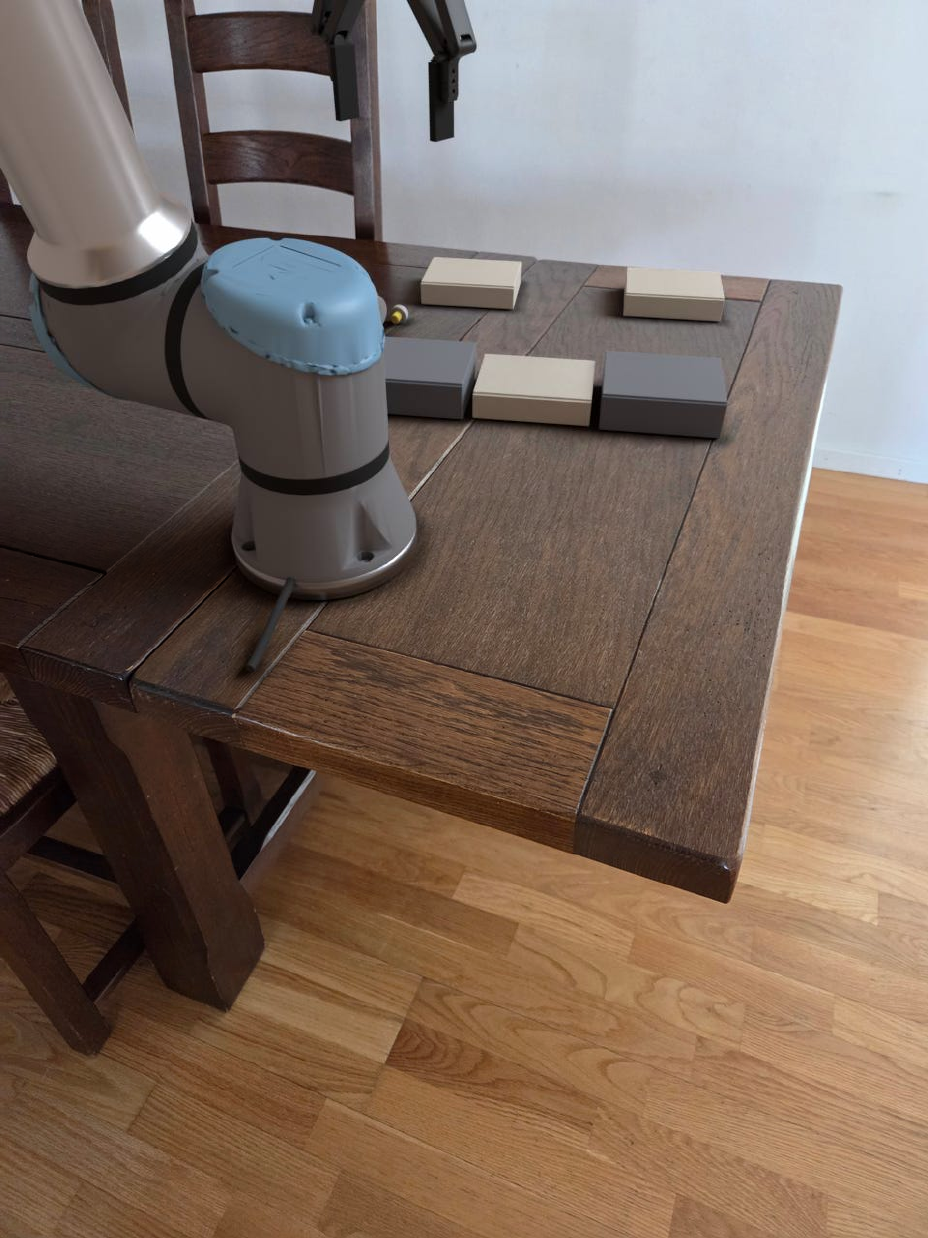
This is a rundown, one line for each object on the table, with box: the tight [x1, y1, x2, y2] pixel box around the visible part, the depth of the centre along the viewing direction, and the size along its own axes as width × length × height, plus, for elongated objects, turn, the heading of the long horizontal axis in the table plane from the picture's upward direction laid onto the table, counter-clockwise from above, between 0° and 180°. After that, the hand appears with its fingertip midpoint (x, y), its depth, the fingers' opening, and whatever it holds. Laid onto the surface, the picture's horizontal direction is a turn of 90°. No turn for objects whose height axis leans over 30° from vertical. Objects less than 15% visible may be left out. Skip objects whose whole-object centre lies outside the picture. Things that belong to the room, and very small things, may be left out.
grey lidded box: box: [384, 335, 478, 420], centre depth 92 cm, size 10×12×4 cm
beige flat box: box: [471, 353, 596, 427], centre depth 90 cm, size 9×12×3 cm
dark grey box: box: [598, 350, 728, 439], centre depth 89 cm, size 10×12×4 cm
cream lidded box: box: [622, 266, 726, 322], centre depth 110 cm, size 9×12×3 cm
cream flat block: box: [420, 256, 523, 310], centre depth 113 cm, size 9×12×3 cm
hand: (393, 128), depth 87 cm, fingers open, 13 cm apart
